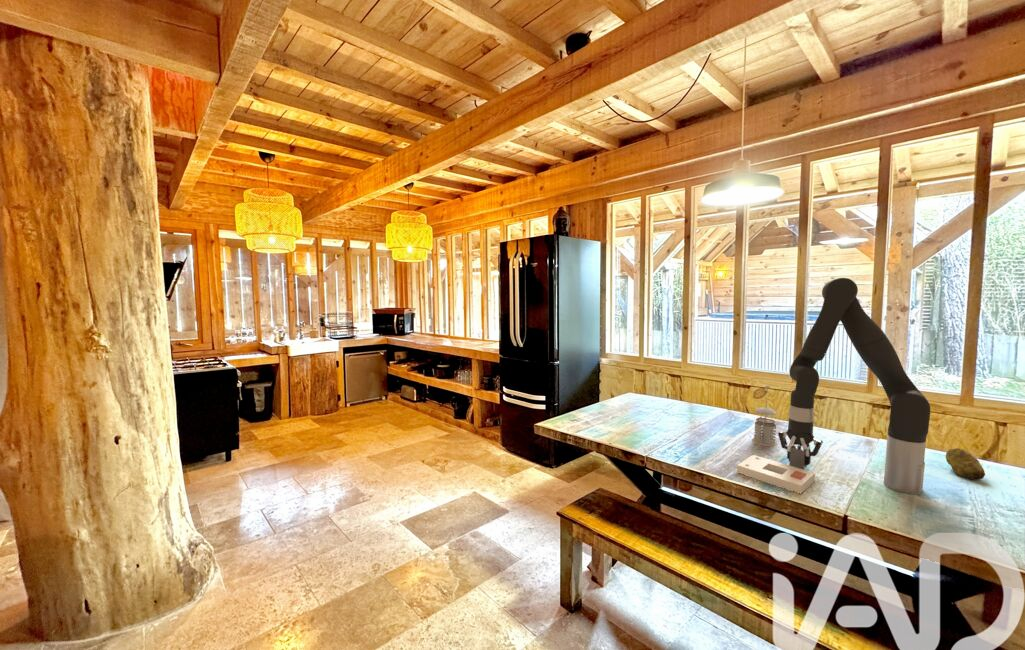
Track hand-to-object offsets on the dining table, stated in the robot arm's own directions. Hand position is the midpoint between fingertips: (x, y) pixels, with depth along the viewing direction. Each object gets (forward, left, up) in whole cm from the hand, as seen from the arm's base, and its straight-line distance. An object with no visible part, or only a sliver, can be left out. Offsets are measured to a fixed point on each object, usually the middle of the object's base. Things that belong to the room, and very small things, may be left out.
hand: (798, 462), depth 152 cm
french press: (+18, -18, -3) cm, 26 cm away
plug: (0, 0, -2) cm, 2 cm away
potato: (-39, -40, -3) cm, 56 cm away
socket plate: (+3, +14, -2) cm, 14 cm away
